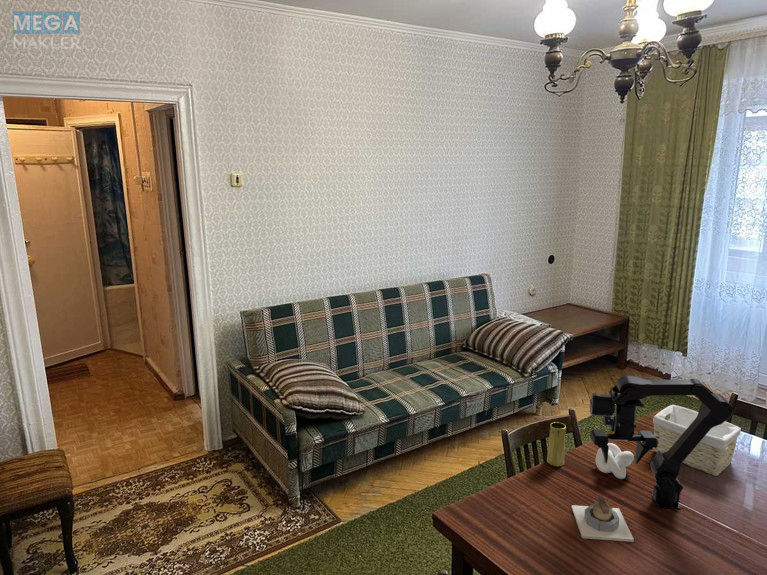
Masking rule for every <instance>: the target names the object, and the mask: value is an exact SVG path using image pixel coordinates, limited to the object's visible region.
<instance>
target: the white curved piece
mask: <svg viewBox="0 0 767 575" xmlns="http://www.w3.org/2000/svg"><path fill="white" fill-rule="evenodd" d="M607 445H608V447H609V449H608V461H607V463H606V462H605V460H604V457H603V453H602V450H601V448H599V447H598V449H597V452H596V454H595V464H596V467H597V469H598V470H599V471H600V472H602V473H604V474H609V473H612V474H613V475H614V476H615V478H617V479H619V480H624V479H625V478H626V477H627V468H626V467H629V465H631V464H632V463H633V461H635V455H634V454H633V453H632V452H631V451H630V450H625V451H622V450H621V448H620V447H619V446H618V445H617V444H615V443H612V442H608V444H607Z"/></svg>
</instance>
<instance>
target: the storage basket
mask: <svg viewBox="0 0 767 575" xmlns="http://www.w3.org/2000/svg"><path fill="white" fill-rule="evenodd" d="M698 412H699V411H697V410H693V409H691V408H687V407H683V406H679V405H675V404H671V405H669V406H667V407H665V408H664V409H662V410H660V411H659V412H658V413H657V414H656V415H654V416H653V419H652V423H653V434H654V436H655V437H656V438H657V440H658V446H657V447H656V448H654V447H653V449H652V450H653V451H654V452H655V453H657V452H658V451H660V452H662V453H664V452H667V451H668V450H669V449H670V448H671V447H672V446H673V445H674V444H675V442H676V441H677V440H678V439H679V438H680V436H681V435H682V434H683V433H684V432H685V430H686V429H687V428H688V427H689V426H690V424H691V423H692V422H693V421H694V420H695V419H696V417H697V416H698ZM666 418H667V419H666ZM741 430H742V429H741V427H739V426H737V425H736V424H732V423H730V422H727V421H725V422H724V423H722V424H720V425H718V426H715V427H713V428H711V429H710V431H709V432H708V433H707V434H706V435H705V436H704V438H703V439H702V440H701V441H700V442H699V443H698V445H697V446H696V447H695V448H694V449H693V450H692V452H691V453H690V454H689V455H688V456H687V457H686V459H685V460H684V461H683V462H682V464H683V463H684V464H685V465H686V466H688V467H691V468H693V469H697V470H700V471H702V472H704V473H707V474H710V475H712V476H714V477H716V476H719V475H720V474H721V473H722V472H723V471H725V469H726V468H727V467H728V466H729V465H730V464H731V463H732V460H733V457H734V455H733V454H734V453H735V448H736V447H737V441H738V437H739V436H740V434H741Z"/></svg>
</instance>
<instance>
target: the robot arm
mask: <svg viewBox="0 0 767 575" xmlns="http://www.w3.org/2000/svg"><path fill="white" fill-rule="evenodd" d="M608 393H609V394H605V393H604V394H602V393H598V392H592V393H591V397H590V399H589V415H591V416H597V417H598V416H601V417H602V425H604V426H608V428H609V429H610V431H611V433H606V431H605V429H604V428H603V429H602V428H600V429H599V428H597V429H596V428H592V429H591V430H590V432H589V438H590V440H591V441H592V443H593V444H594V446H597V447H598V449H599V448H601V450H602V453H603V457H604V460H605V464H607V461H608V449H609V447H608V445H607V444H608V443H609V441H615V442H616V441H618V442H619V441H620V442H636V450H635V455H634V463H635V464H636V465H639V462H640V461H641V460H642V459H643V457H644V456H645V455H646V454H647V453H648V452H649V451H650V450H651V451H652V450H654V449H653V448H656V447H657V446H658V440H657V438H656V437H655V436H654V432H652V431H651V430H639V431H638V432H637V434H635V429H636V428H637V423H636V417H637V407H639V408H640V407H642V408H644V407H645V403H644V401H643V399H646V398H648V397H652V396H654V397H656V396H663V397H664V396H694V397H695V398H696V399H698V400H699V401H700V402H701V403H700V406H699V407H698V411H697V412H698V416H697V417H696V419H695V420H694V421H693V422H692V423H691V424H690V426H689V427H688V428H687V429H686V430H685V432H684V433H683V434H682V435H681V436H680V438H679V439H678V440H677V441H676V442H675V444H674V445H673V446H672V447H671V448H670V449H669V450H668V451H667V452H664V453H662V452H660V451H658V452H655V454H654V456H653V457H652V458H650V461H651V462H650V463H649V464H650V465H649V466H650V469H651V472H652V474H653V476H654V479H655V480H656V481H655V485H653V489H652V490H653V491H652V494H651V497H652V498H653V500H654V502H655V503H656V505H657V506H658V508H665V509H666V508H667V509H682V506H681V505H680V496H681V492H682V491H683V489H684V487H683V485H682V483H681V480H680V479H679V477H678V476H679V474H680V472H681V468H682V464H683V463H682V462H683V461H684V460H685V459H686V457H687V456H688V455H689V454H690V453H691V452H692V450H693V449H694V448H695V447H696V446H697V445H698V443H699V442H700V441H701V440H702V439H703V438H704V436H705V435H706V434H707V433H708V432H709V431H710V429H711V428H713V427H715V426H718V425H720V424H722V423H724V422H727V420H729V419H730V418H731V417H732V416H733V413H734V410H733V409H734V408H733V406H732V405H731V403H730V402H728V401H727V399H726V398H725V397H724V396H723V395H722V394H720V393H717V392H713V391H712V390H711V389H709V388H708V387H707V386H706V385H704V384H703V383H702V382H701V381H700V380H699V379H696V378H690V379H645V378H642V377H639V376H632V375H622V376H620V377H619V379H617V381H616V384H614V386H613V387H612V388H611V389H609V391H608ZM612 416H613V417H612Z"/></svg>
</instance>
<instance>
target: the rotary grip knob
mask: <svg viewBox="0 0 767 575" xmlns="http://www.w3.org/2000/svg"><path fill="white" fill-rule="evenodd" d="M593 505H594V507H593V518H595V519H597V520H599V521H604V522H610V521H611V514H612V508H613V507H612V505H611V504H610V503H608V502H606V499H605V498H604V496H602V495H601V496H600V495H599V496H598V495H597V498H596V501H595V502H593Z"/></svg>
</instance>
